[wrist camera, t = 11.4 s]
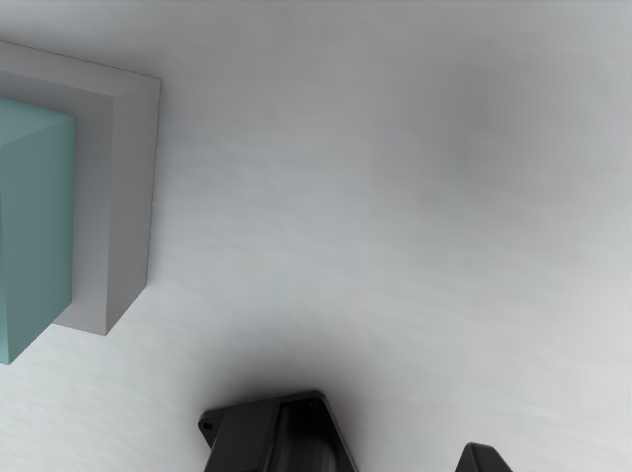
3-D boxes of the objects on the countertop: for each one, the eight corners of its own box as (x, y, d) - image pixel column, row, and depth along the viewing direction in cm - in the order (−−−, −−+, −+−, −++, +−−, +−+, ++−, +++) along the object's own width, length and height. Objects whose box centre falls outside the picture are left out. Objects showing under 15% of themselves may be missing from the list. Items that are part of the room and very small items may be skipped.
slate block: (164, 77, 19) (113, 97, 15) (149, 282, 23) (105, 336, 19) (-71, 21, 19) (-177, 27, 15) (-47, 234, 23) (-126, 279, 19)
